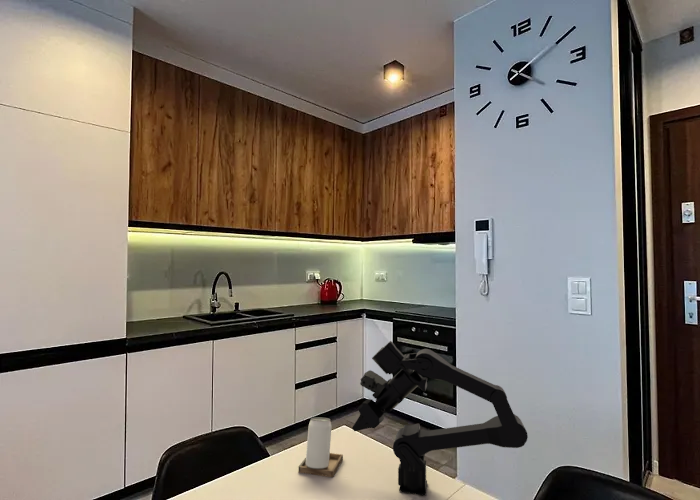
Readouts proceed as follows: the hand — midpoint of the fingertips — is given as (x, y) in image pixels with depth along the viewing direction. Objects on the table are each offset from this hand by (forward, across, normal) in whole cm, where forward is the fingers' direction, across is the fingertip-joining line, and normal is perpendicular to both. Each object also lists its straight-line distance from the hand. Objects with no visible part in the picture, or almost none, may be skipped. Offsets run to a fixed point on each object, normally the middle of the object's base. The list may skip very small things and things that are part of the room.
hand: (360, 423), depth 103 cm
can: (+17, +3, +1) cm, 18 cm away
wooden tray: (+18, 0, +1) cm, 18 cm away
